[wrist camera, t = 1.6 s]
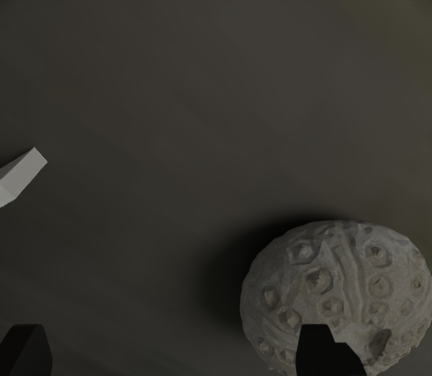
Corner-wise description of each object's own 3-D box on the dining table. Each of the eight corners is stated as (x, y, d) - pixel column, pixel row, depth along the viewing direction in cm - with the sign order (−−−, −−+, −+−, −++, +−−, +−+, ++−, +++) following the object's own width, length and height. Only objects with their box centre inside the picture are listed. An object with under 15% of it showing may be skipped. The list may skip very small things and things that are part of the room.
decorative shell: (429, 204, 33) (513, 278, 25) (369, 327, 42) (416, 415, 33) (249, 192, 31) (270, 268, 23) (225, 324, 40) (234, 415, 31)
